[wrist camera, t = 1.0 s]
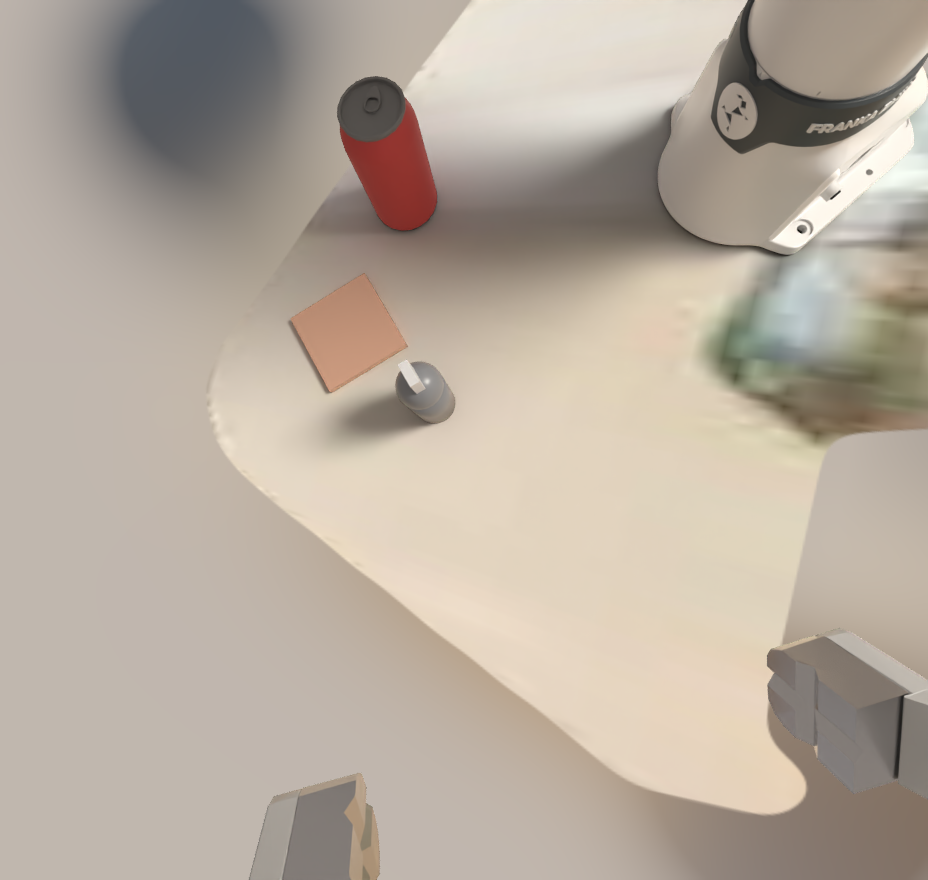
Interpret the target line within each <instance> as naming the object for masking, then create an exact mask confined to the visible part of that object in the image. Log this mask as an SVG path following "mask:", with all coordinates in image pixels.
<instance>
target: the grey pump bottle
mask: <svg viewBox="0 0 928 880" xmlns="http://www.w3.org/2000/svg"><path fill="white" fill-rule="evenodd" d="M398 367H399V369H400V370H401V371H400V372H399V374H398V376H397V379H396V384H395V387H396V393H397V395H398V397H399V399H400V401H401V402H402V403H403V404H404V405H405V406H407V407H408V408H409V409H410V410H412V411H413V412H414V413H415V414H417V415H418V416H419V417H420V418H422V419H423V420H424V421H426V422H429V423H440V422H443V421H445V420H447V419H448V418H449V417H450V416H451V414H452V413H453V411H454V408H455V397H454V395H453V393H452V391H451V389H450V388H449V386H448V385H447V383H446V382H445V380H444V378H443V377H442V375H441V374H440V372H439V371H438V370H437V369H436V368H435V367H434V366H433V365H431V364H429V363H426V362H413V363H409V362H408V360H407V359H406V360H404V361H403V362H401V363H399V364H398Z"/></svg>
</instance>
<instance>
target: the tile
mask: <svg viewBox="0 0 928 880" xmlns="http://www.w3.org/2000/svg"><path fill="white" fill-rule="evenodd" d="M291 321H292V323H293V325H294V326H295V328H296V330H297V332H298V334H299V336H300V338H301V339H302V341H303V343H304V345H305V347H306V349H307V351H308V352H309V354H310V356H311V358H312V360H313V362H314V364H315V365H316V367H317V369H318V371H319V373H320V375H321V377H322V378H323V380H324V382H325V384H326V386H327V388H328V390H329V391H330V392H334V391H335V390H337V389H339V388H340V387H342V386H344V385H345V384H347V383H349V382H350V381H352V380H353V379H355V378H357V377H358V376H360V375H362V374H363V373H365V372H367V371H368V370H370V369H372V368H373V367H375V366H377V365H378V364H380V363H381V362H383V361H385V360H386V359H388V358H390V357H391V356H393V355H395V354H396V353H398V352H400V351H401V350H403V349H405V348H406V347H408V346H407V344H406V343H405V341H404V339H403V338H402V336H401V334H400V332H399V331H398V329H397V327H396V326H395V324H394V322H393V320H392V319H391V317H390V315H389V314H388V312H387V310H386V308H385V307H384V305H383V303H382V302H381V300H380V298H379V297H378V295H377V293H376V291H375V290H374V288H373V286H372V285H371V283H370V281H369V279H368V278H367V276H366V275H365V273H364V274H362V275H360V276H359V277H357V278H355V279H354V280H352V281H351V282H349V283H347V284H346V285H344V286H342V287H341V288H339V289H338V290H336V291H334V292H333V293H331V294H329V295H328V296H326V297H325V298H323V299H321V300H320V301H318V302H317V303H315V304H313V305H312V306H310V307H308V308H307V309H305V310H304V311H302V312H300V313H299V314H297V315H295V316H294V317H292V318H291Z"/></svg>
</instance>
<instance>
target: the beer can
mask: <svg viewBox="0 0 928 880" xmlns="http://www.w3.org/2000/svg"><path fill="white" fill-rule="evenodd" d="M337 117H338V120H339V123H340V134H341V139H342V142H343V145H344V148H345V151H346V152H347V155H348V157H349V159H350V161H351V163H352V165H353V167H354V169H355V171H356V173H357V175H358V177H359V179H360V181H361V183H362V185H363V187H364V189H365V191H366V193H367V195H368V197H369V199H370V201H371V203H372V205H373V207H374V209H375V211H376V213H377V215H378V217H379V218H380V219H381V220H382V222H383V223H384V224H386V225H387V226H389V227H391V228H392V229H397V230H401V231H403V230H412V229H414V228H417V227H419V226H421V225H422V224H424V223H425V222H426V221H428V219H429V218H430V217H431V215H432V214H433V212H434V210H435V207H436V204H437V192H436V188H435V184H434V180H433V177H432V173H431V169H430V165H429V162H428V158H427V154H426V150H425V147H424V143H423V139H422V135H421V132H420V128H419V124H418V120H417V118H416V115H415V112H414V110H413V108H412V106H411V104H410V103H409V102H408V101H407V99H406V98H405V97H404V95H403V92H402V90H401V88H400V87H399V86H398V85H397V84H396V83H395V82H393V81H391V80H389V79H387V78H384V77H378V76H375V77H367V78H364V79H361V80H359V81H357V82H355V83H354V84H353V85H351V86H350V87H349V88H348V89H347V90H346V91H345V93H344V94H343V95H342V97H341V99H340V102H339V104H338V111H337Z"/></svg>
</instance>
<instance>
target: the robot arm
mask: <svg viewBox="0 0 928 880" xmlns="http://www.w3.org/2000/svg"><path fill="white" fill-rule="evenodd" d="M927 57H928V0H748V1H747V3H746V5H745V7H744V8H743V10H742V11H741V13H740V15H739V16H738V18H737V20H736V22H735V24H734V26H733V28H732V30H731V33H730V35H729V38H728V39H723V40H722V41H721V42H720V43H719V44H718V45H717V47H716V48H715V50H714V52H713V54H712V56H711V57H710V59H709V61H708V63H707V65H706V67H705V68H704V70H703V72H702V74H701V76H700V78H699V79H698V81H697V83H696V85H695V87H694V89H693V91H692V93H690V94H687V95H685V96H683V97H681V98H680V99H679V100H678V101H677V103H676V105H675V107H674V109H673V111H672V115H671V135H670V138H669V141H668V143H667V145H666V147H665V149H664V151H663V153H662V156H661V159H660V162H659V167H658V187H659V192H660V195H661V198H662V201H663V203H664V205H665V207H666V208H667V210H668V211H669V213H670V214H671V216H672V217H673V218H674V219H675V220H676V221H677V222H678V223H679V224H680V225H681V226H682V227H684V228H685V229H686V230H688V231H689V232H691V233H692V234H694V235H696V236H698V237H700V238H702V239H705V240H708V241H711V242H715V243H719V244H725V245H754V246H760V247H763V248H765V249H768V250H771V251H774V252H777V253H780V254H786V255H789V254H794V253H796V252H797V251H799V250H800V249H801V248H802V247H803V246H805V245H806V244H807V243H808V242H809V241H810V240H811V239H812V238H814V237H815V236H816V235H817V234H818V233H819V232H820V231H821V230H823V229H824V228H825V227H826V226H827V225H828V224H829V223H830V222H832V221H833V220H834V219H835V218H836V217H837V216H838V215H839V214H841V213H842V212H843V211H844V210H845V209H846V208H847V207H848V206H850V205H851V204H852V203H853V202H854V201H855V200H856V199H857V198H859V197H860V196H861V195H862V194H863V193H864V192H865V191H866V190H868V189H869V188H870V187H871V186H872V185H873V184H874V183H875V182H877V181H878V180H879V179H880V178H881V177H882V176H883V175H884V174H886V173H887V172H888V171H889V170H890V169H891V168H892V167H893V166H895V165H896V164H897V163H898V162H899V161H900V160H901V159H902V158H903V157H904V156H905V155H906V154H907V153H908V152H909V151H910V150H911V149H912V147H913V145H914V136H913V129H912V125H911V122H910V119H909V117H910V116H911V115H912V114H913V113H914V112H915V111H916V110H917V109H918V108H919V107H920V106H921V105H922V104H923V103H924V102H925V100H926V97H927V93H928V80H927V77H926V73H925V70H924V68H923V64H924V62H925V61H926V59H927ZM797 229H798V230H800V231H801V232H802V234H801V233H799V232H798V231H797ZM767 666H768V667H769V668H770V669H771V670H772V671H773V672H774V674H773V676H772V678H771V679H770V681H769V683H768V685H767V686H768V699H769V701H770V704H771V706H772V708H773V710H774V713H775V715H776V716H777V717H778V719H779V720H780V721H781V723H782V724H783V726H784V727H785V728H786V729H787V730H788V731H789V732H790V733H791V734H792V735H793V736H794V737H795V738H797V739H799V740H802V741H804V742H806V743H808V744H810V745H813V746H814V749H815V752H816V756H817V759H818V760H819V761H820V762H821V763H822V764H823V765H824V766H825V767H826V768H827V769H828V770H829V771H830V772H831V773H832V774H833V775H834V776H835V777H836V778H837V779H838V780H839V781H840V782H841V783H842V784H843V785H844V786H846V787H847V788H848V789H849V790H850V791H851V792H852V793H853V794H855V793H858V792H861V791H864V790H868V789H871V788H875V787H878V786H881V785H884V784H888V783H891V782H894V781H897V780H898V784H899V785H901V786H903V787H905V788H907V789H909V790H911V791H912V792H914V793H916V794H918V795H920V796H922V797H924V798H926V799H928V680H927V679H925V678H924V677H922V676H920V675H919V674H917V673H916V672H914V671H912V670H911V669H909V668H908V667H906V666H904V665H903V664H901V663H900V662H898V661H896V660H895V659H893V658H892V657H890V656H888V655H887V654H885V653H883V652H882V651H881V650H879V649H877V648H876V647H874V646H873V645H871V644H869V643H868V642H866V641H865V640H863V639H861V638H860V637H858V636H857V635H855V634H853V633H852V632H850V631H847V630H844V629H841V628H838V629H835V630H831V631H828V632H825V633H821V634H818V635H816V636H811V637H807V638H804V639H801V640H798V641H795V642H792V643H788V644H785V645H782V646H779V647H776V648H772V649H771V650H770V651H769V653H768V655H767ZM379 874H380V851H379V839H378V829H377V824H376V819H375V815H374V811H373V808H372V806H370V805H368V804H367V803H366V785H365V782H364V779H363V776H362V774H361V773H357V774H353V775H350V776H346V777H342V778H339V779H334V780H331V781H327V782H323V783H320V784H316V785H313V786H308V787H305V788H303V789H299V790H296V791H292V792H289V793H285V794H281V795H277V796H274V797H273V799H272V801H271V802H270V804H269V806H268V808H267V812H266V816H265V819H264V823H263V827H262V831H261V835H260V838H259V842H258V846H257V850H256V854H255V858H254V861H253V865H252V869H251V873H250V877H249V880H377V877H378V876H379Z"/></svg>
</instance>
